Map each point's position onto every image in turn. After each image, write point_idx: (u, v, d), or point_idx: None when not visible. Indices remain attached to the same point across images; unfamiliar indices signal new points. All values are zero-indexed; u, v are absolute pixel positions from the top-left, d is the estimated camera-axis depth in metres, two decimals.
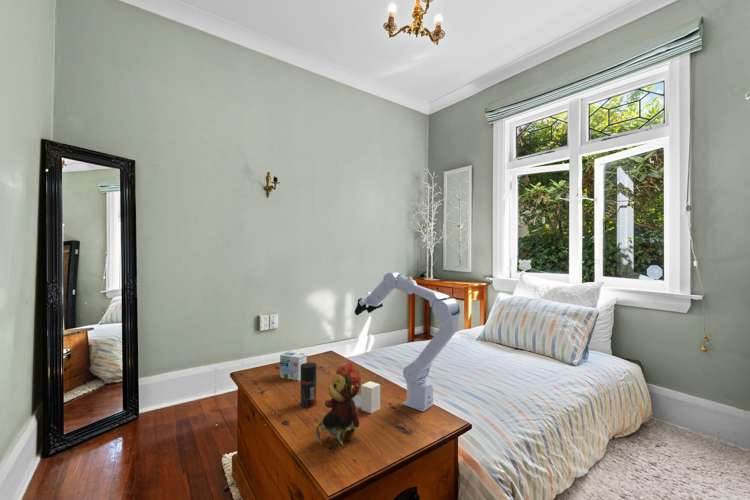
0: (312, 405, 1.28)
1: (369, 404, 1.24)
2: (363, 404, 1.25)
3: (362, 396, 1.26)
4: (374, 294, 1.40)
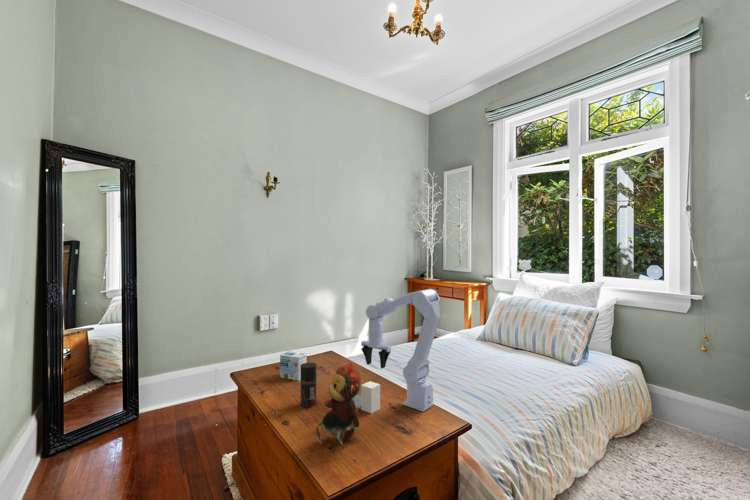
0: (312, 405, 1.28)
1: (369, 404, 1.24)
2: (363, 404, 1.25)
3: (362, 396, 1.26)
4: None
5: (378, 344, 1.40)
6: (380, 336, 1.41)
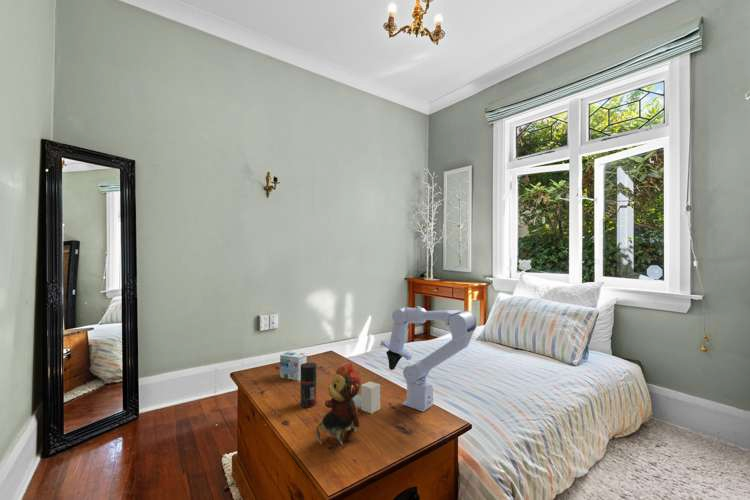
0: (312, 405, 1.28)
1: (369, 404, 1.24)
2: (363, 404, 1.25)
3: (362, 396, 1.26)
4: None
5: (399, 349, 1.33)
6: (402, 342, 1.34)
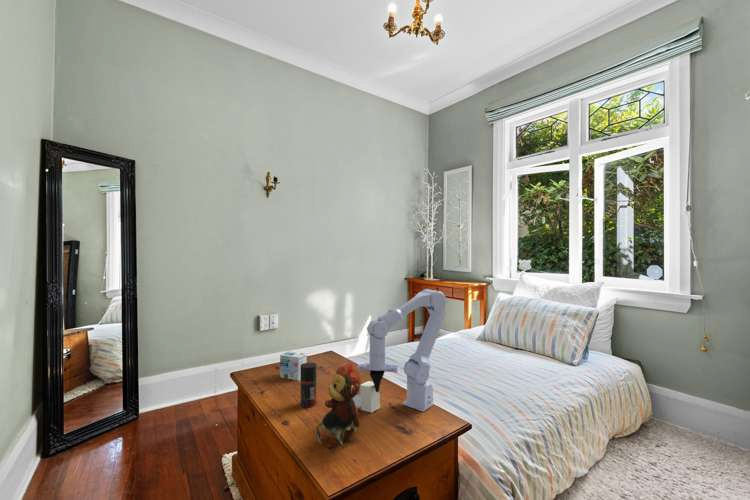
0: (312, 405, 1.28)
1: (368, 404, 1.24)
2: (363, 404, 1.25)
3: (361, 396, 1.26)
4: None
5: (383, 366, 1.23)
6: (384, 356, 1.24)
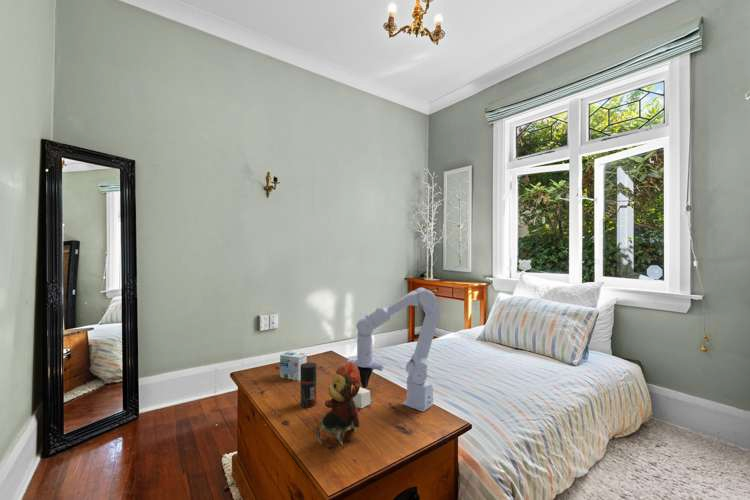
0: (312, 405, 1.28)
1: (355, 396, 1.28)
2: (357, 403, 1.27)
3: None
4: None
5: (369, 363, 1.26)
6: (371, 354, 1.27)
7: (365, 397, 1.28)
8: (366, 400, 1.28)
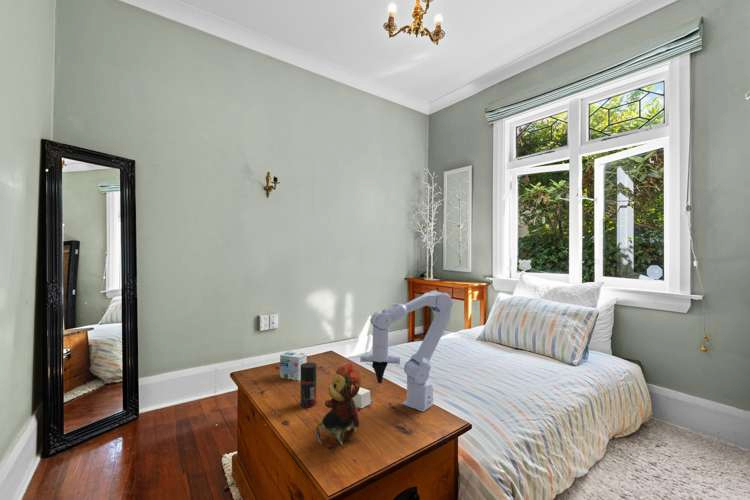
0: (312, 405, 1.28)
1: (355, 396, 1.28)
2: (357, 403, 1.27)
3: None
4: None
5: (386, 357, 1.24)
6: (387, 348, 1.25)
7: (365, 397, 1.28)
8: (366, 400, 1.28)
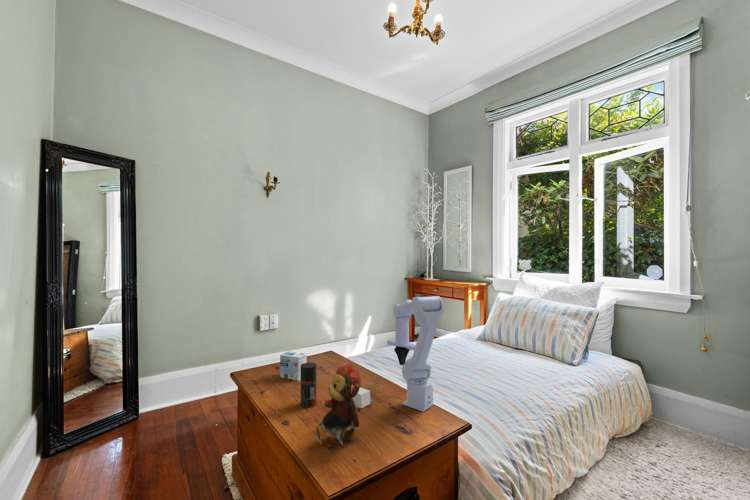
0: (312, 405, 1.28)
1: (355, 396, 1.28)
2: (357, 403, 1.27)
3: None
4: None
5: (405, 343, 1.42)
6: (407, 335, 1.42)
7: (365, 397, 1.28)
8: (366, 400, 1.28)
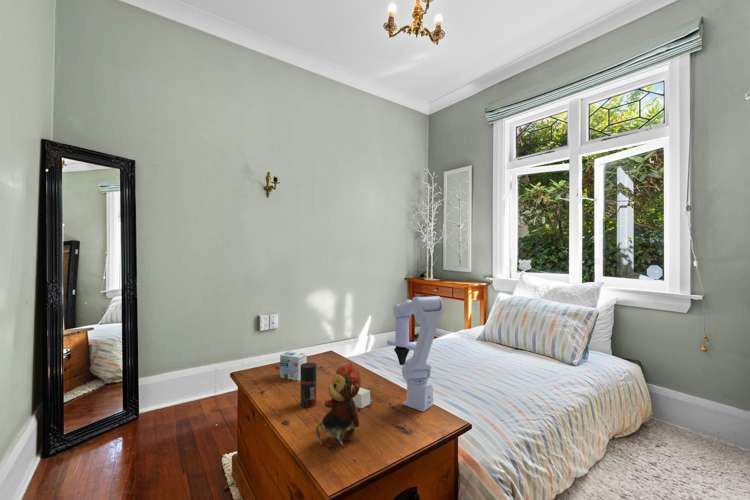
0: (312, 405, 1.28)
1: (355, 396, 1.28)
2: (357, 403, 1.27)
3: None
4: None
5: (405, 343, 1.42)
6: (407, 335, 1.42)
7: (365, 397, 1.28)
8: (366, 400, 1.28)
